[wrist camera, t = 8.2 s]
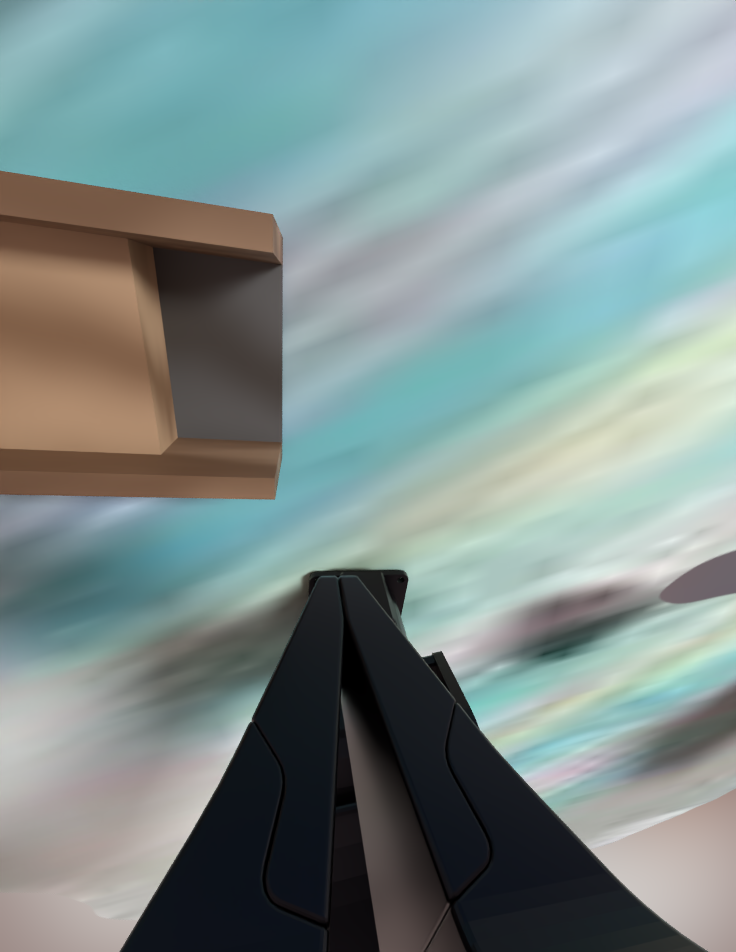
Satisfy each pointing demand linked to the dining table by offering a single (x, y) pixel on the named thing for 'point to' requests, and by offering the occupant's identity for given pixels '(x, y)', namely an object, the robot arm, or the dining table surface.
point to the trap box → (137, 344)
